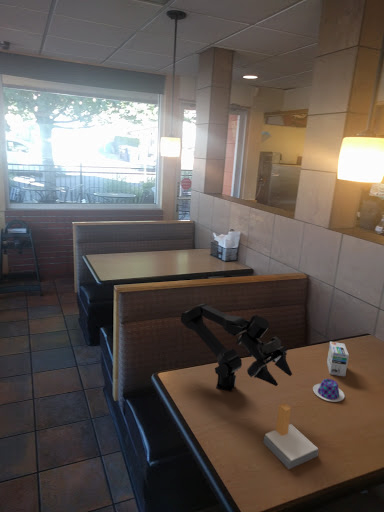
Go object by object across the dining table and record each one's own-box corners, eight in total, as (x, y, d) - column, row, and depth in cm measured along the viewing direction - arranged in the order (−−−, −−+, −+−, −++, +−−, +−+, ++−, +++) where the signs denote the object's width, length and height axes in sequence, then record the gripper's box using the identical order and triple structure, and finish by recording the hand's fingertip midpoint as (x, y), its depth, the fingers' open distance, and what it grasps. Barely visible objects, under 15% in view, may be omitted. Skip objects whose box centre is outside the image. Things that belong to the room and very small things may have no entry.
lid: (265, 435, 124) (268, 408, 121) (290, 425, 129) (294, 399, 126) (291, 461, 114) (295, 433, 111) (317, 449, 119) (322, 422, 116)
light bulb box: (345, 377, 164) (349, 354, 161) (329, 374, 165) (333, 352, 163) (341, 364, 174) (345, 343, 171) (326, 362, 176) (329, 341, 173)
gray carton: (263, 442, 124) (264, 436, 123) (291, 431, 130) (291, 425, 129) (288, 469, 114) (289, 462, 113) (317, 456, 120) (318, 449, 119)
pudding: (306, 390, 153) (308, 379, 152) (324, 381, 161) (326, 370, 159) (332, 407, 144) (334, 395, 143) (350, 396, 151) (352, 385, 150)
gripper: (249, 340, 129) (281, 376, 121) (279, 324, 142) (310, 357, 134) (234, 359, 135) (264, 395, 128) (264, 343, 148) (293, 375, 141)
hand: (284, 380), depth 132 cm, fingers open, 9 cm apart
